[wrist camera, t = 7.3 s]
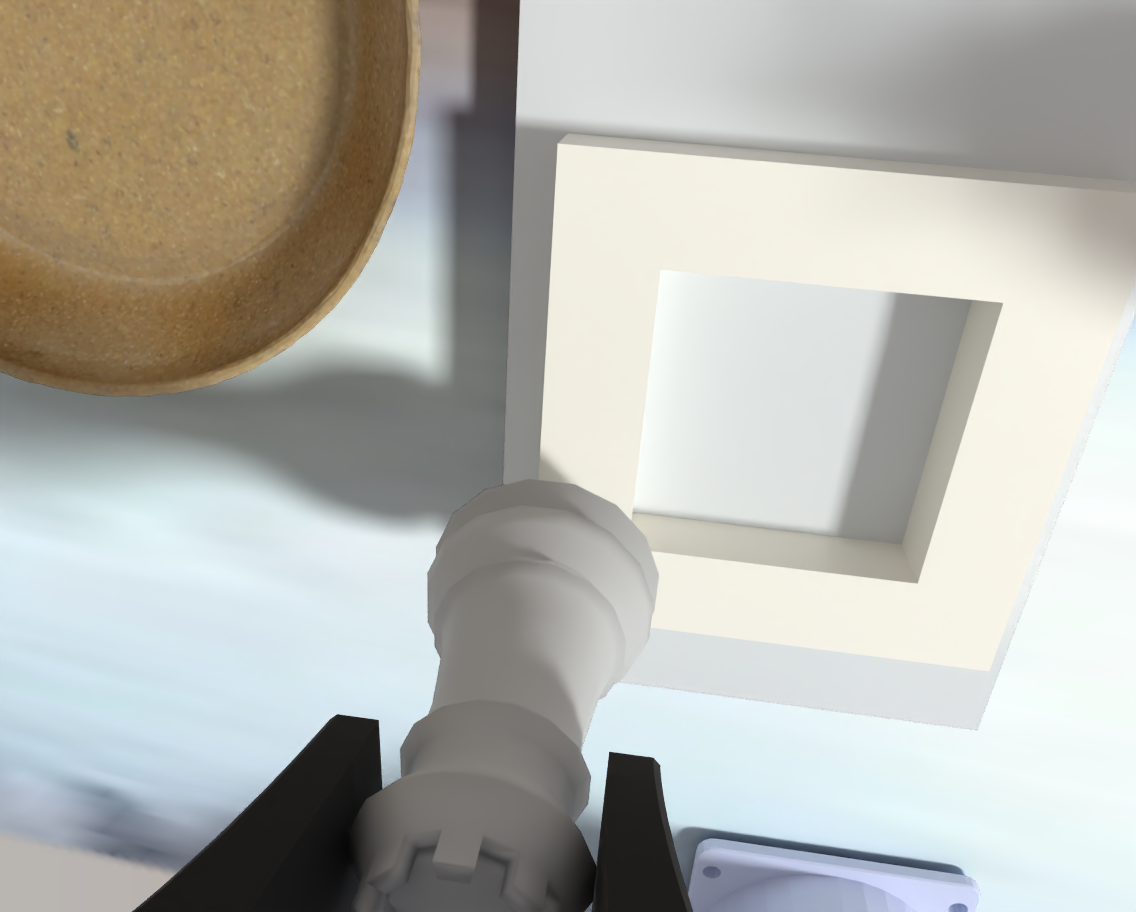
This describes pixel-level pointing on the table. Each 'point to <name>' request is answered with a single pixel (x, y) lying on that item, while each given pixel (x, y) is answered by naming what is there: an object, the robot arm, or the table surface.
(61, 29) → the plant saucer
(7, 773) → the table surface
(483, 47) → the table surface
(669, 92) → the holder stand
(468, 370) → the table surface
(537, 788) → the rook chess piece
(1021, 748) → the table surface
